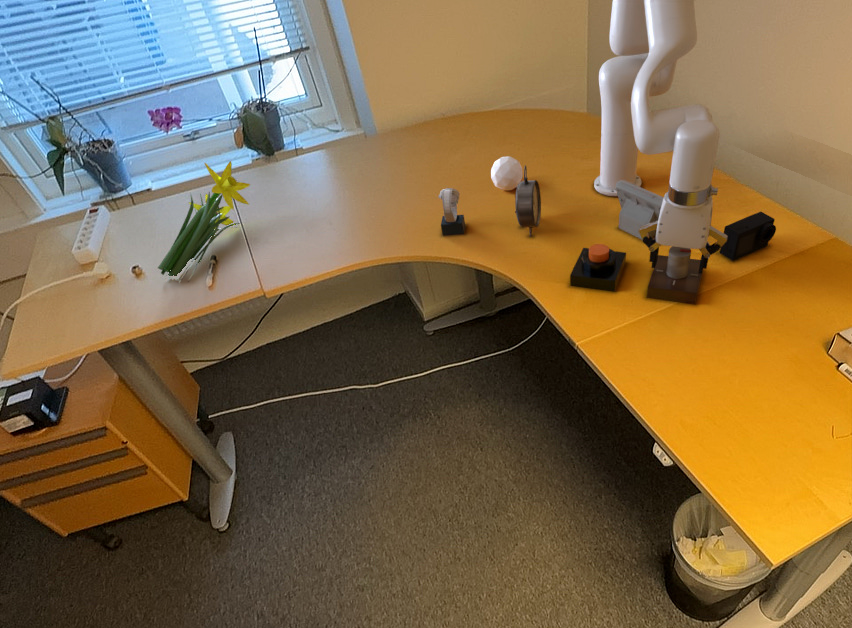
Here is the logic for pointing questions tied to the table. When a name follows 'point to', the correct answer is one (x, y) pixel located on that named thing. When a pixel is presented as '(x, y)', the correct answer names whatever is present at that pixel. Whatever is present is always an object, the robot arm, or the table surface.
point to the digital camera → (748, 235)
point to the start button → (598, 253)
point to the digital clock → (637, 208)
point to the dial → (678, 262)
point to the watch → (451, 213)
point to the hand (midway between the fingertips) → (677, 267)
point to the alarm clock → (528, 203)
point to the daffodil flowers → (204, 222)
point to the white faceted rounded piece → (506, 173)
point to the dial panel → (674, 283)
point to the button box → (598, 271)
